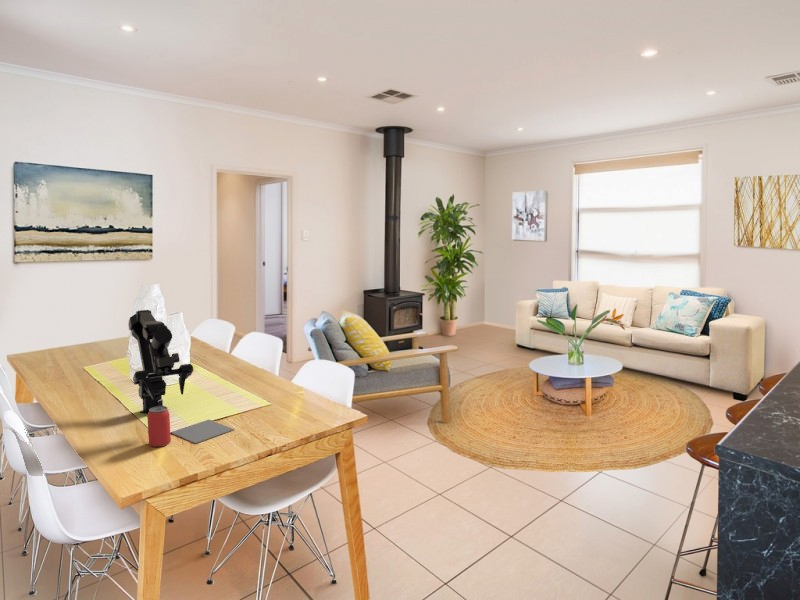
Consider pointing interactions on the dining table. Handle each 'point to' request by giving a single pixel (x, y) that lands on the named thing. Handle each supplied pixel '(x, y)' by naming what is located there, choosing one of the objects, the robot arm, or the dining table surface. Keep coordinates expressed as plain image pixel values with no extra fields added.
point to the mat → (202, 431)
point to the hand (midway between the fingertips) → (168, 396)
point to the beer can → (159, 426)
